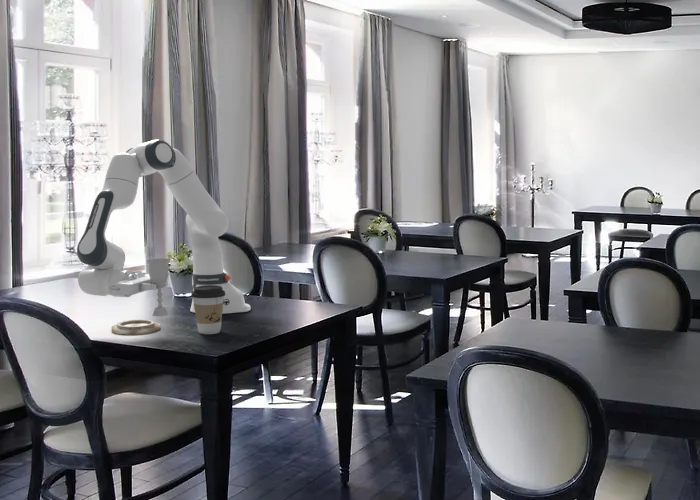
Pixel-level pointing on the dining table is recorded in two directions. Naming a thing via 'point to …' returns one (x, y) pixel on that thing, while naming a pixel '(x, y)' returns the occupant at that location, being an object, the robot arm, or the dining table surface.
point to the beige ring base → (135, 327)
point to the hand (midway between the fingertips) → (161, 285)
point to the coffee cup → (208, 308)
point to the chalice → (159, 280)
